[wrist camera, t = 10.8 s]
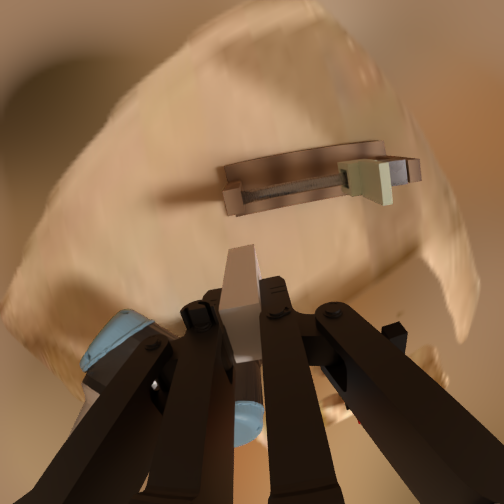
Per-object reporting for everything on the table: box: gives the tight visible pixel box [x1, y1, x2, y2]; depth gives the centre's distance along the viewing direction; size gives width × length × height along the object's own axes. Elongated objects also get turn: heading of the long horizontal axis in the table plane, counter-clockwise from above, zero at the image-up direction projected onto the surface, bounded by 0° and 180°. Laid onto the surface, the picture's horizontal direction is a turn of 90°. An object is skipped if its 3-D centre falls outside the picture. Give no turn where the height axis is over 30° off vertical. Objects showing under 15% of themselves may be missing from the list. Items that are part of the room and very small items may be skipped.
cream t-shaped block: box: [337, 159, 393, 206], centre depth 30 cm, size 4×4×10 cm
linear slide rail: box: [222, 141, 422, 217], centre depth 37 cm, size 26×8×12 cm, turn 102°
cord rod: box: [241, 158, 408, 204], centre depth 33 cm, size 24×3×3 cm, turn 102°
